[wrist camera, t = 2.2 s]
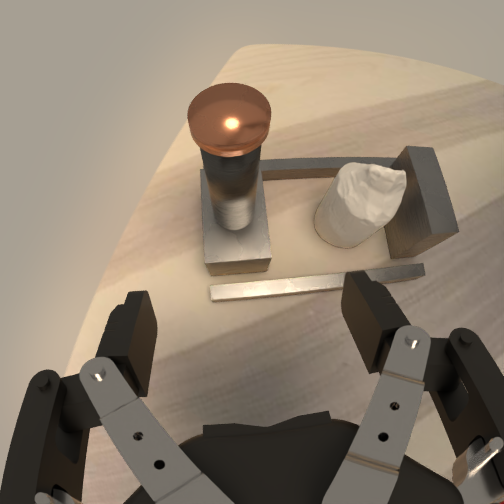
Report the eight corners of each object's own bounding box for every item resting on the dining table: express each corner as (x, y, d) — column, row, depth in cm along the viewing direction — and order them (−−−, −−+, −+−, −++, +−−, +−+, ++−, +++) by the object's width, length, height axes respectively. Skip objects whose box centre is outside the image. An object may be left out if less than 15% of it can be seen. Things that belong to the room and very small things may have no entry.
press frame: (392, 166, 33) (424, 126, 25) (419, 278, 30) (465, 259, 22) (205, 174, 32) (195, 127, 24) (213, 302, 28) (202, 288, 21)
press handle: (257, 190, 31) (272, 55, 15) (266, 271, 29) (297, 184, 13) (206, 194, 31) (177, 61, 15) (211, 275, 29) (172, 193, 12)
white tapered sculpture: (411, 126, 20) (441, 194, 19) (360, 193, 32) (377, 244, 30) (339, 129, 20) (367, 206, 18) (306, 201, 31) (321, 256, 30)
